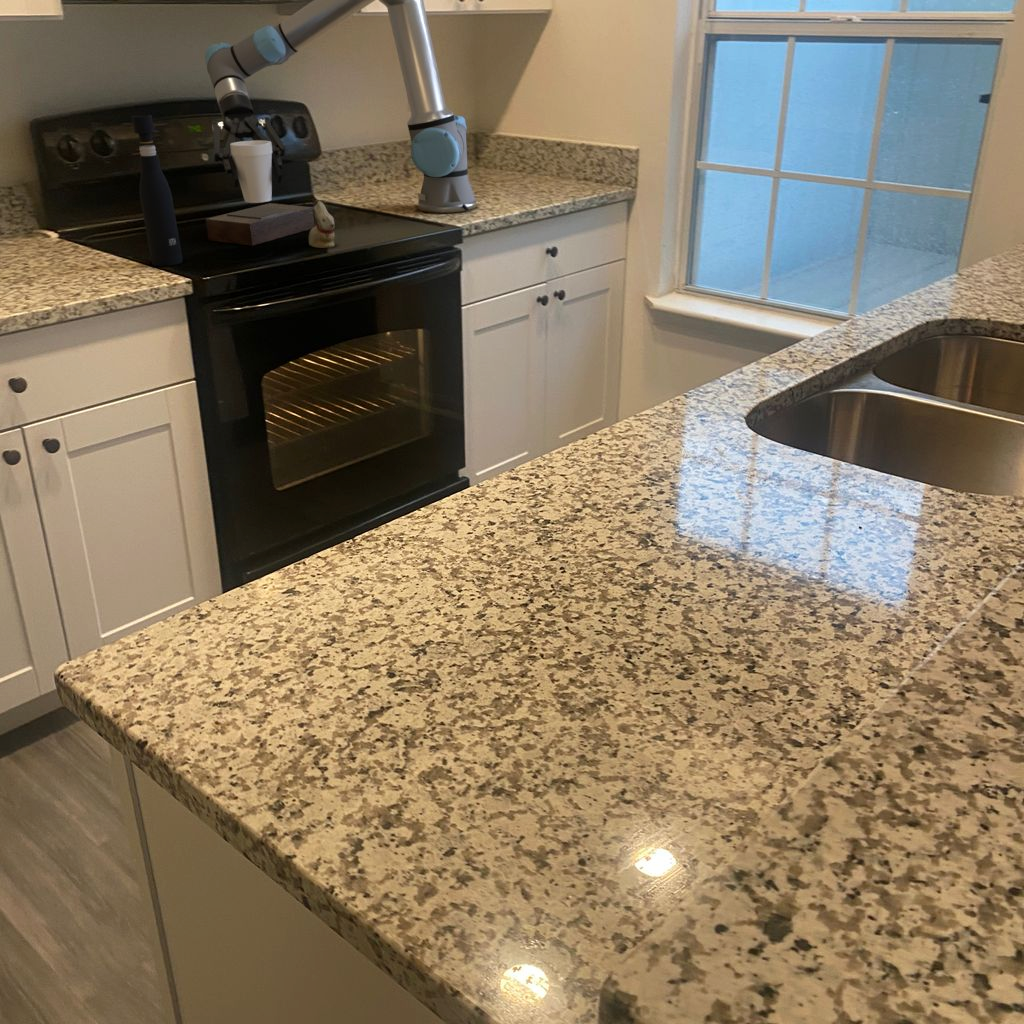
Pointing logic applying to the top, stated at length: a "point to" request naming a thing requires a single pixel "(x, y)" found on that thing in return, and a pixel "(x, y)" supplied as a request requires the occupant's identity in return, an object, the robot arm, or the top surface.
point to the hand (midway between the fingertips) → (258, 181)
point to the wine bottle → (156, 200)
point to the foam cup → (254, 169)
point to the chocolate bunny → (322, 228)
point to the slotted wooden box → (260, 224)
